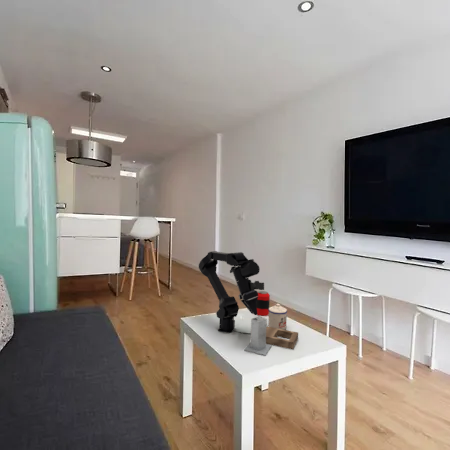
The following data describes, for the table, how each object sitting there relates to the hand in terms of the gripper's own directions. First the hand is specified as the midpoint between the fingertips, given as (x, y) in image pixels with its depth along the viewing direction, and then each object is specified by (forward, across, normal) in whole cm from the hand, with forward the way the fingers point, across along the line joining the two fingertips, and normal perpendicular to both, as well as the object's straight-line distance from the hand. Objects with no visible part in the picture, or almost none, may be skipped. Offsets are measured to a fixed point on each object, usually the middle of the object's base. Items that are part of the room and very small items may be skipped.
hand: (254, 314), depth 125 cm
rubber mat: (+13, -3, +4) cm, 14 cm away
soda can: (+6, +36, -9) cm, 38 cm away
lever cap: (+12, -4, +4) cm, 13 cm away
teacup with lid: (+12, +19, -12) cm, 25 cm away
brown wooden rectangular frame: (+15, +4, -7) cm, 17 cm away
